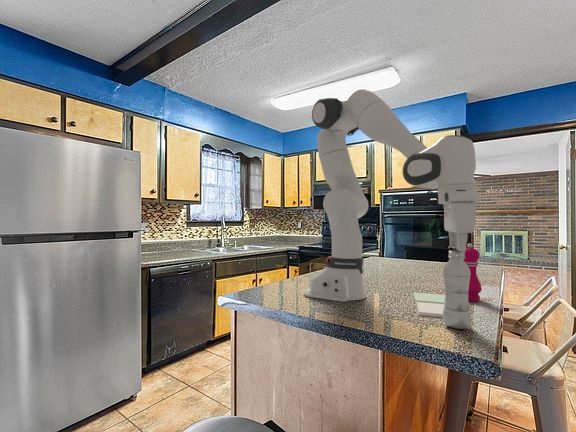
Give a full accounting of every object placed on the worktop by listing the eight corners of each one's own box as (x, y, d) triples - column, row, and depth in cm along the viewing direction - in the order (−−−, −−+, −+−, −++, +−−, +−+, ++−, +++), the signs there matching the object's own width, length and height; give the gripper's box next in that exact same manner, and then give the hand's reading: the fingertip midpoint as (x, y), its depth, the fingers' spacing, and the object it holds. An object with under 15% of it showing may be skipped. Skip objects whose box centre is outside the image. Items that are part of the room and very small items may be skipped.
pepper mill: (485, 303, 107) (485, 244, 107) (462, 301, 108) (462, 243, 109) (476, 297, 114) (477, 242, 114) (455, 296, 116) (455, 242, 116)
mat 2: (419, 315, 92) (419, 311, 92) (416, 304, 104) (416, 301, 104) (468, 320, 88) (468, 316, 88) (460, 308, 100) (460, 305, 100)
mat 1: (415, 303, 106) (415, 300, 106) (413, 295, 117) (413, 292, 117) (459, 307, 102) (458, 303, 102) (452, 298, 113) (452, 295, 113)
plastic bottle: (459, 333, 78) (459, 252, 78) (436, 324, 84) (437, 250, 84) (477, 330, 80) (477, 252, 81) (453, 322, 87) (454, 249, 87)
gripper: (438, 199, 93) (438, 246, 93) (450, 194, 74) (450, 252, 74) (462, 199, 91) (462, 246, 91) (480, 193, 72) (481, 253, 72)
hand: (457, 249), depth 82 cm, fingers open, 8 cm apart
